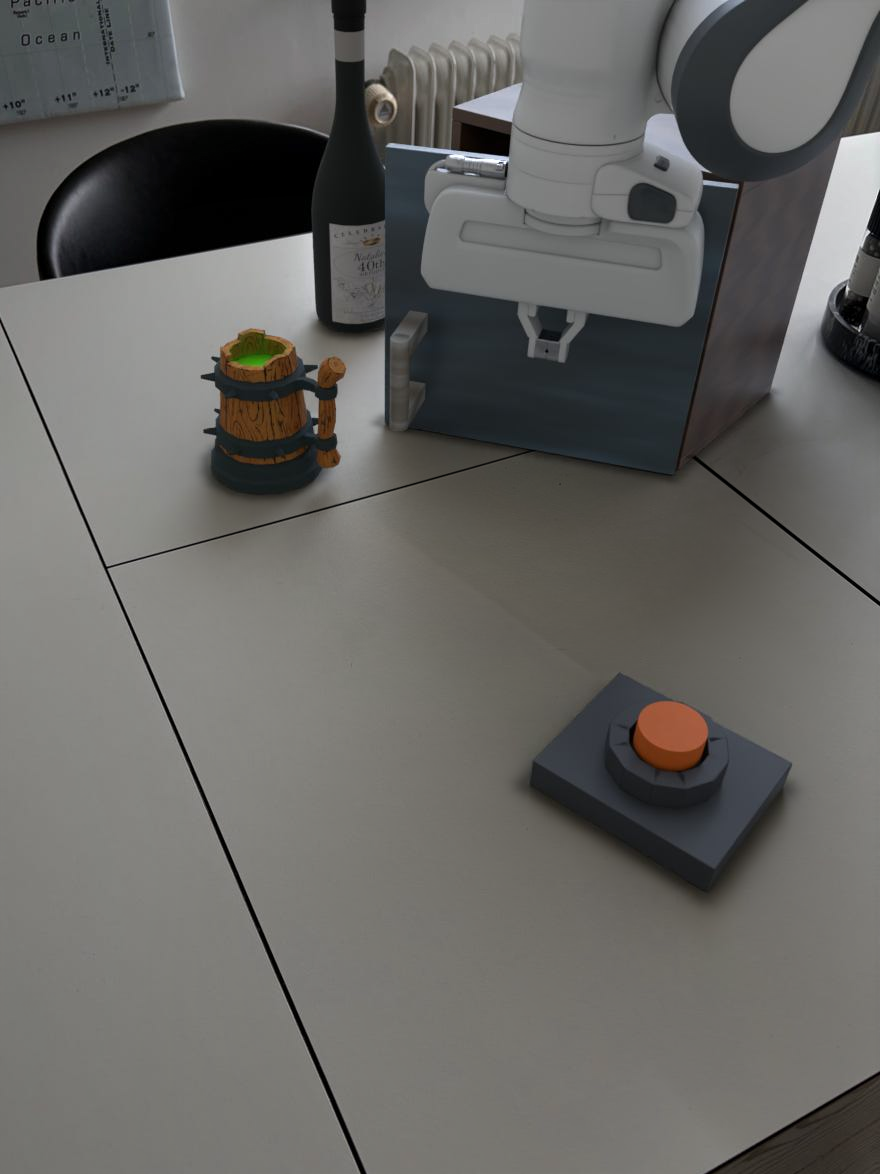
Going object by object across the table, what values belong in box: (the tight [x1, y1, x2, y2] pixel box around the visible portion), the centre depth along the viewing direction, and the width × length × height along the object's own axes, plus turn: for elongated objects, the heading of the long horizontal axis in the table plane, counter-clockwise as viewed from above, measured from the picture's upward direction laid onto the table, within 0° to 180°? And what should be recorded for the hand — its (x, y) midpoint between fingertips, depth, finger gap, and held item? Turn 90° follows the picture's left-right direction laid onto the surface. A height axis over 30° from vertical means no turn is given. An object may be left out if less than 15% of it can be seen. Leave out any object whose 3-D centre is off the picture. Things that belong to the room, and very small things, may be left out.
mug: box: [200, 327, 347, 496], centre depth 85 cm, size 13×10×12 cm
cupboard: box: [450, 81, 845, 471], centre depth 92 cm, size 18×26×24 cm
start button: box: [633, 701, 708, 772], centre depth 61 cm, size 4×4×2 cm
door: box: [384, 142, 739, 476], centre depth 82 cm, size 7×26×24 cm, turn 72°
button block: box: [529, 672, 793, 893], centre depth 62 cm, size 12×10×4 cm
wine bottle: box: [310, 0, 385, 334], centre depth 99 cm, size 8×8×30 cm
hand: (547, 357), depth 80 cm, fingers closed
